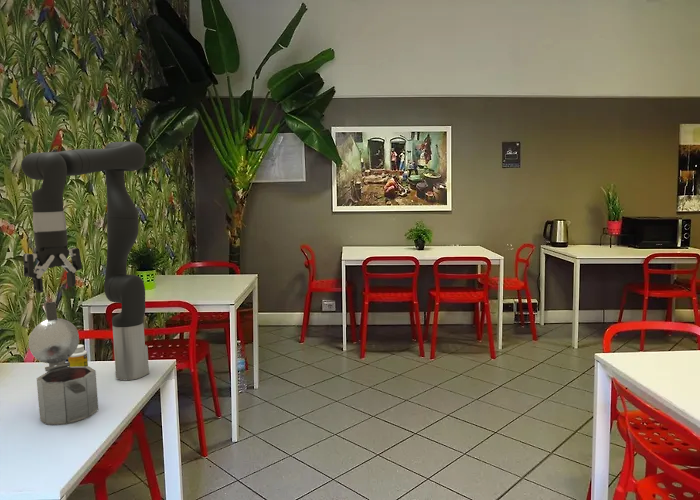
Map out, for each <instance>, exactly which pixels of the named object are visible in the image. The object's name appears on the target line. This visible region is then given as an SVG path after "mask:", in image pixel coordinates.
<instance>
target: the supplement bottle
mask: <svg viewBox="0 0 700 500" xmlns="http://www.w3.org/2000/svg"><path fill="white" fill-rule="evenodd" d="M88 360H89V359H88V351H87V350H85V345H84V344H78V346H77V349H76V350H75V352H74V353H73V354H72V355H71V356H70V357H69V358H68V359H67V362H70V366H68V367H75V366H89V362H88Z"/></svg>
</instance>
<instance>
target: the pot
mask: <svg viewBox="0 0 700 500" xmlns="http://www.w3.org/2000/svg"><path fill="white" fill-rule="evenodd" d="M36 388H37V397H38V398H37V401H38V410H39V412H38V413H39V420H40V422H41V423H43V424H45V425H47V426H49V425H50V426H61V425H69V424H74V423H77V422H80V421H84V420H86V419H89V418H91V417H92V416H94V415H95V414H96V413H97V412H98V410H99V400H98V399H99V397H98V387H97V372H96V370H95V369H93V368H92V367H90V366H89V365H88V366H75V367H69V366H68V367H64V368H59V369H55V370H51V371H45V373H43V374H41V375H40V376H38V377H36Z"/></svg>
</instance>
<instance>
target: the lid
mask: <svg viewBox="0 0 700 500" xmlns="http://www.w3.org/2000/svg"><path fill="white" fill-rule="evenodd" d="M44 308H45V315H46V316H45V318H46V319H45V320H42V321H41V322H39V323H38V324H37V325H36V326H35V327H34V328H33V329H32V331H31V332H30V335H29V337H28V347H29V351H30V353H31V354H32V356H33V357H34V358H35V359H36V360H37V361H40V362H42V363H45V364H48V366H46V367H45V366H44V371H45V372H47V371H51V370H55V369H59V368H64V367H69V366H70V362H68V361H67V362H66V360H68V358H69V357H70V356H71V355H72V354H73V353H74V352H75V350H76V349H77V346H78V345H79V343H80V336H79V335H80V334H79V331H78V328H77V327H76V326H75V325H74V324H73V323H72V322H71V321H69V320H67V319H65V318H61V317H60V318H58V313H57V305H56V301H50V302H45V303H44Z"/></svg>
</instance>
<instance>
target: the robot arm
mask: <svg viewBox="0 0 700 500" xmlns="http://www.w3.org/2000/svg"><path fill="white" fill-rule="evenodd" d="M146 157H147V155H146V151H145V149H144V148H143V146H142V145H141V144H140V143H138V142H134V141H113V142H109V143H107V145H106V146H105V148H78V149H77V148H76V149H65V150H62V151H55V152H54V151H49V152H47V151H46V152H45V151H44V152H32V153H29V154H27V155H25V156H24V157H23V158H22V161H21V167H20V168H21V170H22V172H23V174H24V175H25V176H26V177H28V178H29V179H31V180H35V181H38V180H39V181H42V184H41V187H40V188H39V189H36V190H34V191H33V192H32V193H31V205H32V216H33V217H32V226H33V228H32V229H33V237H34V247H35V253H23V256H22V257H23V258H22V259H23V260H22V261H23V263H22V264H23V276H24V277H26V278H31V279H32V282H33V283H32V285H33V290H34V291H36V293H40V294H41V293H43V292H44V284H43V278H42V277H43V275H44V273H45V272H46V271H47V270H48V269H49V268H55V267H61V268H63V269H64V270H65V271H66V272H67V273H66V275H65V276H66V285H67V287H70V288H72V287H75V284H76V283H77V279H76V273H77V271H79V270H81V269H82V268H83V265H82V259H81V251H80V249H79V247H78V248H77V247H71V248H70V249H69V248H68V245H69V244H68V235H67V233H68V232H67V223H66V222H67V221H66V217H65V212H64V211H65V210H64V202H63V201H64V200H63V194H64V191H65V190H64V189H65V184H66V181H67V180H66V179H67V177H72V176H73V177H74V176H80V175H81V176H82V175H87V174H93V173H97V172H98V173H99V172H103V171H104V174H105V183H106V205H107V206H106V208H107V209H106V210H107V211H106V233H107V234H106V236H107V240H106V241H107V242H106V243H107V244H106V247H107V248H106V265H105V266H106V267H105V275H104V288H103V289H104V293H105V297H106V298H107V300H108V301H110V302H112V303H115V304H121V311H120V313H117V314H115V315H113V316H112V321H111V322H112V323H111V325H112V337H113V339H112V340H113V353H114V366H115V371H114V372H115V378H116V380H119V381H131V380H136V379H140V378H143V377H145V376H146V375H149V374H150V367H149V365H150V364H149V353H148V352H149V350H148V348H149V347H148V345H147V344H145V342H146V341H145V328H144V327H145V326H144V317H145V314H146V287H145V283H144V280H143V279H142V277H140V276H138V275H136V274H127V265H128V264H127V262H128V257H129V254H130V252H131V250H132V249H133V247H134V245H135V242H136V241H137V238H138V235H139V212H138V209H137V207H136V204H135V203H134V201H133V199H132V197H131V195H130V194H129V192H128V189H127V187H126V179H125V172H135V171H139V170H140V169H142V168H143V166H144V165H145V163H146ZM69 256H70V259H71V261H70V260H69V259H68V257H69ZM36 260H37V264H36V265H35V264H34V262H35V261H36ZM34 265H35V267H34Z"/></svg>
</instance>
